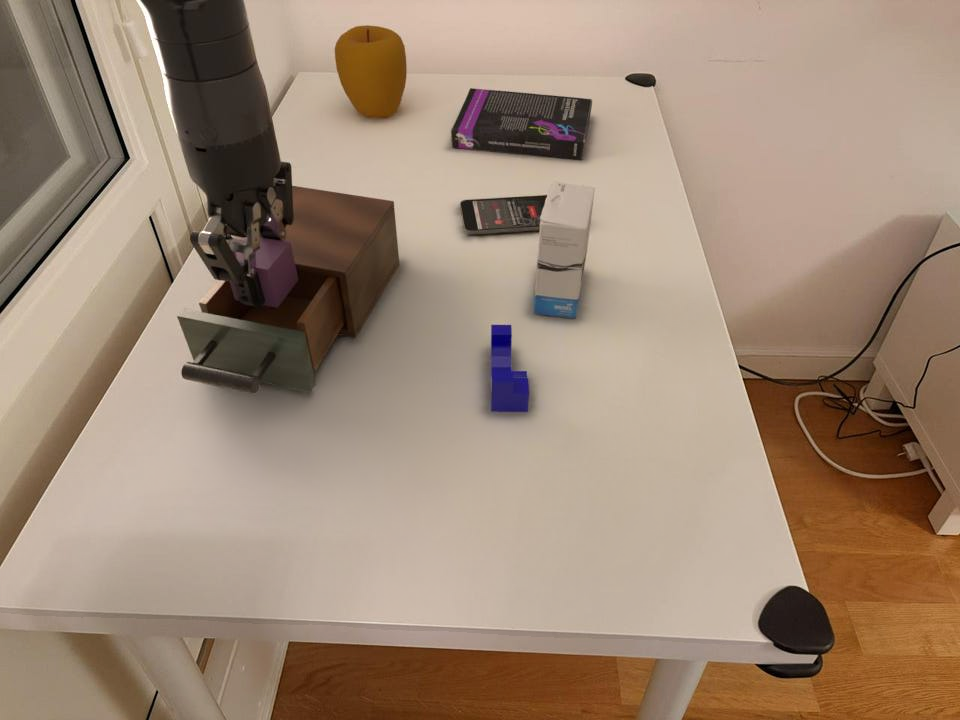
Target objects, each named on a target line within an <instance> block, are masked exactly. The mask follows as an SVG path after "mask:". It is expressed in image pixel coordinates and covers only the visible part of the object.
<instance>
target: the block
mask: <svg viewBox="0 0 960 720" xmlns="http://www.w3.org/2000/svg"><path fill="white" fill-rule="evenodd" d="M244 240H245V241H247V237H246V238H245V239H244ZM236 258H237V260H238V262H244V256H243V254H242V253H240V252H236ZM256 272H257V273H258V276H259V280H260V283H261V287H262V291H263V295H264V299H265V302H264V304H263V305H265V306H270V307H275V308H278V307H279V305H280V304H281V303H282V301H283V300H284V299H285V297H286V296H287V295H288V293H289V292H290V291H291V289H292V288H293V287H294V285H295V284H296V283H297V281H298V276H297V271H296V266H295V262H294V257H293V252H292V248H291V243H290V242H285V241H280V240H274V239H268V238H262V237H260V249H259V250H258V251H256ZM230 284H231V288H232V291H233V294H234V298H235V300H238V301H239V298H238V295H237V291H236V288H235V284H234V282H230Z"/></svg>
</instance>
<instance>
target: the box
mask: <svg viewBox="0 0 960 720" xmlns="http://www.w3.org/2000/svg"><path fill="white" fill-rule="evenodd" d="M592 106H593V99H592V98H583V97H574V96H564V95H563V96H562V95H553V94H552V95H550V94H541V93H531V92H530V93H529V92H518V91H509V90H508V91H506V90H496V89H483V88H473V87H471V88H470V89H468V93H467V95H466V98H465V100H464V102H463V104H462V106H461V108H460V111H459V113H458V115H457V117H456V120H455V122H454V124H453V126H452V127H451V129H450V143H451V148H453V149H464V150H477V151H487V152H488V151H489V152H499V153H500V152H501V153H509V154H519V155H520V154H521V155H530V156H540V157H541V156H542V157H552V158H562V159H574V160H583V159H584V154H585V153H584V152H585V147H586V141H587V135H588V134H587V133H588V130H589V123H590V120H591V119H590V118H591V114H592Z"/></svg>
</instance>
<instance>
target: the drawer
mask: <svg viewBox="0 0 960 720" xmlns="http://www.w3.org/2000/svg"><path fill="white" fill-rule="evenodd" d="M296 271H297V276H298V281H297V283H296V284H295V285H294V287H293V288H292V289H291V291H290V292H289V293H288V295H287V296H286V297H285V299H284V300H283V301H282V303H281V304H280V305H279V307H278V308H275V307H270V306H265V305H262V306H261V307H254V306H249V305H245V304H243V303H241V302H240V301H238V300H235V298H234V294H233V291H232V288H231V284H230V282H228V281H223V280H216V282H215V284H214V285H213V286H212V287H211V288H210V289H209V291H207V292H206V294H205V295H204V296H202V297H203V298H202V299H201V300H200V301H199V302H198V306H199V308H200V311H198V310H192V309H188V308H183V309H182V310H180V312H179V313H178V315H176V318H177V320H178V323H179V325H180V329H181V331H182V333H183V336H184V339H185V341H186V344H187V347H188V349H189V352H190V355H191V357H192V360H193V361H192V362H191V361H187V362H185V363H184V364H183V366H182V368H181V372H180V374H181V377H182V379H183V380H187V381H190V382H196V383H199V384H200V383H201V384H204V385H210V386H214V387H219V388H224V389H227V390H233V391H237V392H243V393H247V394H252V395H255V394H257V393H258V392H259V389H260V388H261V383H263V384H269V385H274V386H279V387H283V388H288V389H292V390H298V391H301V392H307V393H312V392H313V390H314V389H315V387H316V386H317V381H316V378H315V373H314V372H316V370H317V369H318V368H319V365H320V364H321V362H322V361H323V359H324V358H325V356H326V354H327V353H328V351H329V349H330V348H331V346H332V345H333V343H334V342H335V340H336V339H337V337H338V336H339V334H338V333H339V332H340V330H341V329H342V327H343V325H344V324H345V322H346V316H345V310H344V303H343V297H342V291H341V285H340V279H339V277H333V276H328V275H322V274H316V273H311V272H305V271H300V270H296Z"/></svg>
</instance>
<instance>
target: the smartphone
mask: <svg viewBox="0 0 960 720" xmlns="http://www.w3.org/2000/svg"><path fill="white" fill-rule="evenodd" d="M546 198H547V194H542V195H525V196H524V195H523V196H509V197H508V196H507V197H493V198H491V197H490V198H472V199H463V200H461V201H460V203H459V208H460V213H461V219H462V225H463V230H464V232H465V234H467V235H469V236H473V235H475V236H476V235H489V234H490V235H491V234H505V233H519V232H520V233H521V232H535V231H536V232H537V231H540V221H541V219H540V216H541V214H542V210H543V207H544V205H545V200H546Z"/></svg>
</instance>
